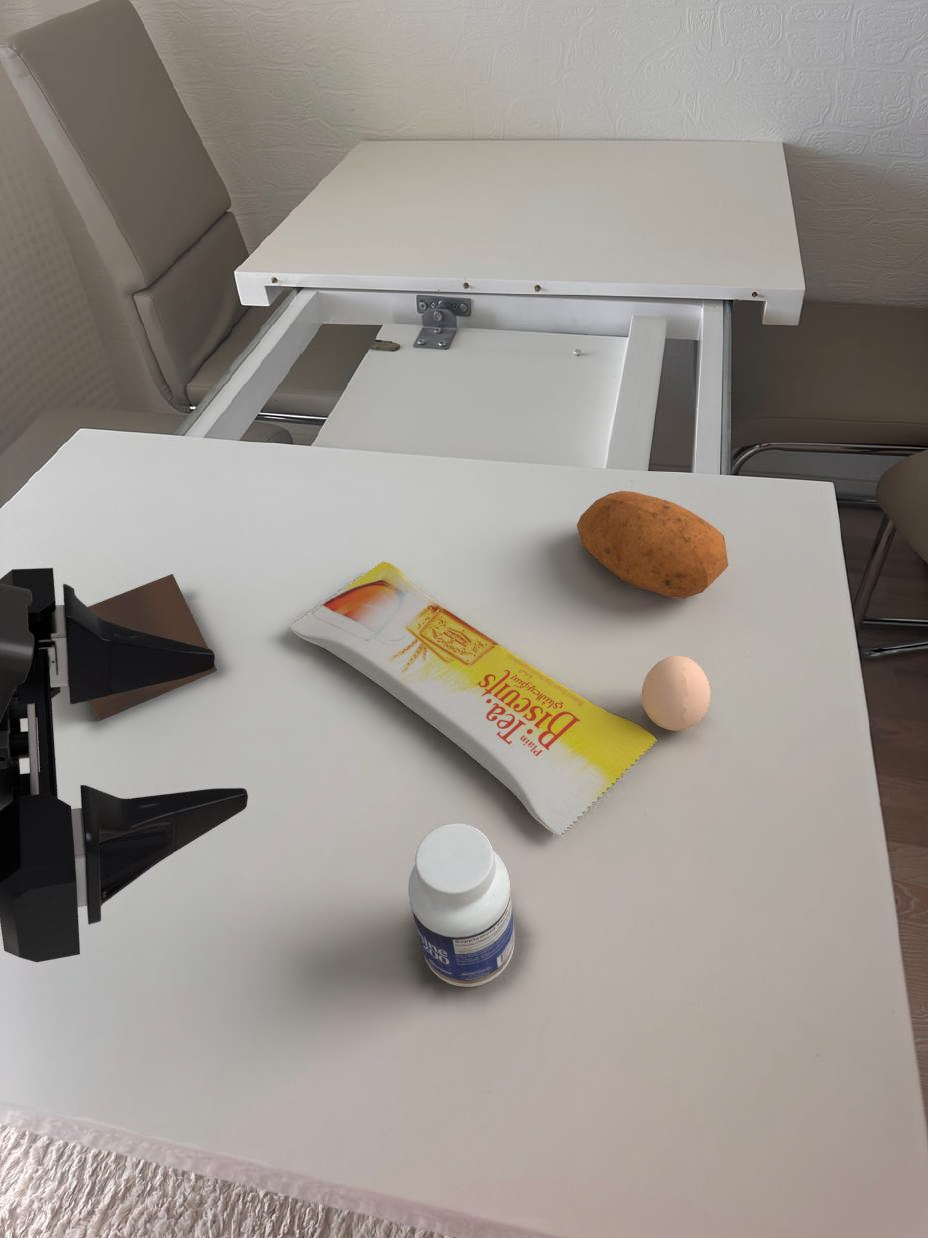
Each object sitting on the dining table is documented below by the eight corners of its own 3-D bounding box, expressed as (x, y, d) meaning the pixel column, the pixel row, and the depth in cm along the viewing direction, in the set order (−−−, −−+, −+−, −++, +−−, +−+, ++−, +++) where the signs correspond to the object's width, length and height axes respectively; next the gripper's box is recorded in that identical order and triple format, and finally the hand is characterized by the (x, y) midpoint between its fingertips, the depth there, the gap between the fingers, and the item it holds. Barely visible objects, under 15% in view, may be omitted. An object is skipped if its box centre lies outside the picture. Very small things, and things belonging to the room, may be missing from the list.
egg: (701, 693, 66) (710, 637, 62) (710, 745, 63) (719, 690, 59) (636, 694, 66) (641, 639, 62) (642, 746, 63) (647, 691, 59)
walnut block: (99, 721, 69) (84, 694, 67) (73, 644, 75) (58, 617, 72) (217, 670, 71) (206, 643, 69) (183, 600, 77) (172, 573, 75)
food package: (661, 728, 61) (559, 829, 57) (658, 749, 63) (560, 848, 59) (382, 548, 76) (283, 617, 71) (386, 569, 78) (290, 637, 73)
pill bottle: (408, 923, 56) (385, 835, 49) (491, 887, 57) (480, 796, 50) (443, 1006, 52) (424, 924, 45) (531, 966, 53) (525, 879, 47)
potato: (680, 637, 70) (672, 569, 65) (566, 561, 78) (551, 496, 73) (747, 583, 72) (745, 513, 67) (629, 515, 80) (619, 448, 75)
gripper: (-226, 820, 28) (289, 758, 35) (-161, 476, 41) (208, 476, 47) (-159, 1007, 35) (261, 927, 42) (-120, 663, 48) (197, 642, 54)
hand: (229, 724), depth 46 cm, fingers open, 9 cm apart
